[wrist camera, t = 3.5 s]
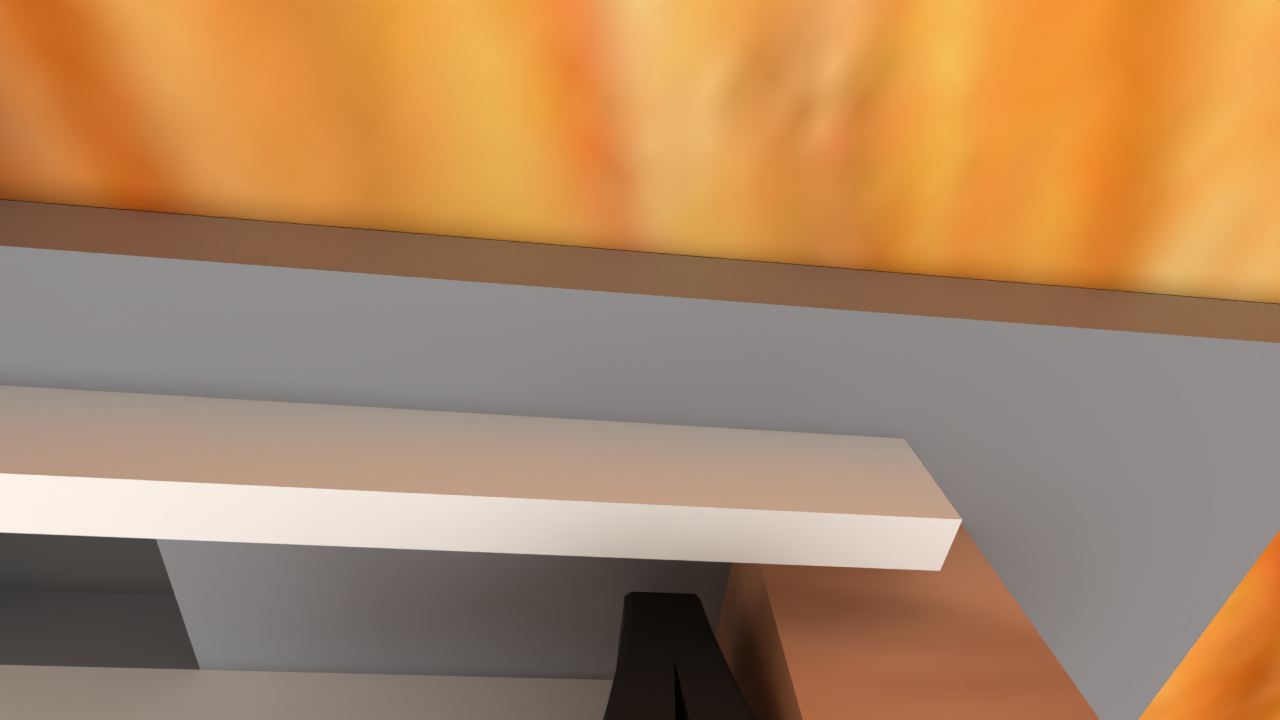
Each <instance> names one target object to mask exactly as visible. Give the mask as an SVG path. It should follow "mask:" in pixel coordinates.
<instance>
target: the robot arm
mask: <svg viewBox="0 0 1280 720" xmlns="http://www.w3.org/2000/svg"><path fill="white" fill-rule="evenodd" d="M603 720H756V719H755V717H754V715H753V713H752V712H751V710H750V708H749V706H748V704H747V702H746V700H745V698H744V696H743V694H742V692H741V690H740V689H739V687H738V685H737V683H736V681H735V679H734V677H733V675H732V672H731V670H730V668H729V666H728V664H727V662H726V660H725V658H724V655H723V653H722V651H721V649H720V647H719V645H718V642H717V640H716V638H715V635H714V633H713V631H712V628H711V626H710V623H709V621H708V618H707V616H706V613H705V611H704V608H703V605H702V602H701V600H700V598H699V597H698V596H697V595H696V594H689V593H660V592H630V593H628V594H627V595H625V596H624V604H623V613H622V621H621V630H620V638H619V647H618V655H617V664H616V672H615V676H614V680H613V684H612V688H611V692H610V696H609V700H608V703H607V707H606V711H605V714H604V718H603Z"/></svg>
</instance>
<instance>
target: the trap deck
mask: <svg viewBox="0 0 1280 720" xmlns="http://www.w3.org/2000/svg"><path fill="white" fill-rule="evenodd" d="M0 385H6V386H23V387H40V388H57V389H73V390H90V391H107V392H124V393H141V394H158V395H175V396H192V397H209V398H226V399H243V400H260V401H277V402H294V403H311V404H328V405H345V406H362V407H379V408H396V409H413V410H430V411H447V412H463V413H480V414H497V415H514V416H531V417H548V418H565V419H582V420H599V421H616V422H633V423H650V424H667V425H684V426H701V427H718V428H735V429H752V430H769V431H786V432H803V433H820V434H837V435H854V436H870V437H887V438H904V439H905V440H906V442H907V443H908V444H909V446H910V447H911V449H912V450H913V451H914V453H915V454H916V456H917V457H918V458H919V460H920V461H921V462H922V464H923V465H924V467H925V468H926V469H927V471H928V472H929V474H930V475H931V476H932V478H933V479H934V481H935V482H936V483H937V485H938V486H939V488H940V489H941V490H942V492H943V493H944V495H945V496H946V497H947V499H948V500H949V502H950V503H951V504H952V506H953V507H954V509H955V510H956V511H957V513H958V514H959V516H960V517H961V518H962V522H961V524H962V525H963V527H964V528H965V530H966V531H967V532H968V534H969V535H970V537H971V538H972V539H973V541H974V542H975V544H976V545H977V547H978V548H979V549H980V551H981V552H982V554H983V555H984V556H985V558H986V559H987V561H988V562H989V564H990V565H991V566H992V568H993V569H994V571H995V572H996V573H997V575H998V576H999V578H1000V579H1001V581H1002V582H1003V583H1004V585H1005V586H1006V588H1007V589H1008V590H1009V592H1010V593H1011V595H1012V596H1013V598H1014V599H1015V600H1016V602H1017V603H1018V605H1019V606H1020V607H1021V609H1022V610H1023V612H1024V613H1025V615H1026V616H1027V617H1028V619H1029V620H1030V622H1031V623H1032V624H1033V626H1034V627H1035V629H1036V630H1037V632H1038V633H1039V634H1040V636H1041V637H1042V639H1043V640H1044V641H1045V643H1046V644H1047V646H1048V647H1049V649H1050V650H1051V651H1052V653H1053V654H1054V656H1055V657H1056V658H1057V660H1058V661H1059V663H1060V664H1061V665H1062V667H1063V668H1064V670H1065V671H1066V673H1067V674H1068V675H1069V677H1070V678H1071V680H1072V681H1073V682H1074V684H1075V685H1076V687H1077V688H1078V690H1079V691H1080V692H1081V694H1082V695H1083V697H1084V698H1085V699H1086V701H1087V702H1088V704H1089V705H1090V707H1091V708H1092V709H1093V711H1094V712H1095V714H1096V715H1097V716H1098V718H1099V719H1100V720H1138V719H1139V718H1140V716H1141V715H1142V714H1143V712H1144V711H1145V710H1146V708H1147V707H1148V706H1149V704H1150V703H1151V702H1152V700H1153V699H1154V698H1155V696H1156V695H1157V694H1158V692H1159V691H1160V690H1161V688H1162V687H1163V686H1164V684H1165V683H1166V682H1167V680H1168V679H1169V678H1170V676H1171V675H1172V674H1173V672H1174V671H1175V670H1176V668H1177V667H1178V665H1179V664H1180V663H1181V661H1182V660H1183V659H1184V657H1185V656H1186V655H1187V653H1188V652H1189V651H1190V649H1191V648H1192V647H1193V645H1194V644H1195V643H1196V641H1197V640H1198V639H1199V637H1200V636H1201V635H1202V633H1203V632H1204V631H1205V629H1206V628H1207V627H1208V625H1209V624H1210V623H1211V621H1212V620H1213V619H1214V617H1215V616H1216V614H1217V613H1218V612H1219V610H1220V609H1221V608H1222V606H1223V605H1224V604H1225V602H1226V601H1227V600H1228V598H1229V597H1230V596H1231V594H1232V593H1233V592H1234V590H1235V589H1236V588H1237V586H1238V585H1239V584H1240V582H1241V581H1242V580H1243V578H1244V577H1245V576H1246V574H1247V573H1248V572H1249V570H1250V569H1251V568H1252V566H1253V565H1254V564H1255V562H1256V561H1257V559H1258V558H1259V557H1260V555H1261V554H1262V553H1263V551H1264V550H1265V549H1266V547H1267V546H1268V545H1269V543H1270V542H1271V541H1272V539H1273V538H1274V537H1275V535H1276V534H1277V533H1278V531H1279V530H1280V304H1270V303H1258V302H1246V301H1233V300H1221V299H1209V298H1197V297H1184V296H1172V295H1160V294H1148V293H1135V292H1123V291H1111V290H1099V289H1087V288H1074V287H1062V286H1050V285H1038V284H1025V283H1013V282H1001V281H989V280H976V279H964V278H952V277H940V276H928V275H915V274H903V273H891V272H879V271H866V270H854V269H842V268H830V267H817V266H805V265H793V264H781V263H769V262H756V261H744V260H732V259H720V258H707V257H695V256H683V255H671V254H659V253H646V252H634V251H622V250H610V249H597V248H585V247H573V246H561V245H548V244H536V243H524V242H512V241H500V240H487V239H475V238H463V237H451V236H438V235H426V234H414V233H402V232H390V231H377V230H365V229H353V228H341V227H328V226H316V225H304V224H292V223H279V222H267V221H255V220H243V219H231V218H218V217H206V216H194V215H182V214H169V213H157V212H145V211H133V210H120V209H108V208H96V207H84V206H72V205H59V204H47V203H35V202H23V201H10V200H0ZM731 565H732V562H712V561H687V560H663V559H638V558H614V557H589V556H565V555H541V554H516V553H492V552H467V551H443V550H418V549H394V548H369V547H345V546H320V545H296V544H271V543H247V542H223V541H198V540H174V539H149V538H125V537H100V536H76V535H51V534H27V533H2V532H0V665H29V666H69V667H110V668H151V669H191V670H232V671H272V672H313V673H354V674H394V675H435V676H476V677H516V678H557V679H598V680H614V676H615V672H616V664H617V655H618V647H619V638H620V630H621V621H622V613H623V604H624V596H625V595H627V594H628V593H630V592H660V593H689V594H696V595H697V596H698V597H699V598H700V600H701V602H702V605H703V608H704V611H705V613H706V616H707V618H708V621H709V623H710V626H711V628H712V631H713V633H714V635H715V638H716V633H717V629H718V624H719V619H720V615H721V610H722V606H723V601H724V597H725V592H726V587H727V583H728V578H729V574H730V569H731Z"/></svg>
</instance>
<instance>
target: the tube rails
mask: <svg viewBox="0 0 1280 720" xmlns="http://www.w3.org/2000/svg"><path fill="white" fill-rule="evenodd" d="M961 522H962V518H961V517H960V516H959V514H958V513H957V511H956V510H955V509H954V507H953V506H952V504H951V503H950V502H949V500H948V499H947V497H946V496H945V495H944V493H943V492H942V490H941V489H940V488H939V486H938V485H937V483H936V482H935V481H934V479H933V478H932V476H931V475H930V474H929V472H928V471H927V469H926V468H925V467H924V465H923V464H922V462H921V461H920V460H919V458H918V457H917V456H916V454H915V453H914V451H913V450H912V449H911V447H910V446H909V444H908V443H907V442H906V440H905V439H904V438H887V437H870V436H854V435H837V434H820V433H803V432H786V431H769V430H752V429H735V428H718V427H701V426H684V425H667V424H650V423H633V422H616V421H599V420H582V419H565V418H548V417H531V416H514V415H497V414H480V413H463V412H447V411H430V410H413V409H396V408H379V407H362V406H345V405H328V404H311V403H294V402H277V401H260V400H243V399H226V398H209V397H192V396H175V395H158V394H141V393H124V392H107V391H90V390H73V389H57V388H40V387H23V386H6V385H0V532H2V533H27V534H51V535H76V536H100V537H125V538H149V539H174V540H198V541H223V542H247V543H271V544H296V545H320V546H345V547H369V548H394V549H418V550H443V551H467V552H492V553H516V554H541V555H565V556H589V557H614V558H638V559H663V560H687V561H712V562H736V563H761V564H785V565H810V566H834V567H859V568H883V569H908V570H932V571H940V570H941V567H942V565H943V563H944V561H945V558H946V556H947V554H948V551H949V549H950V547H951V544H952V542H953V540H954V538H955V535H956V533H957V531H958V528H959V526H960V524H961ZM612 684H613V680H598V679H557V678H516V677H476V676H435V675H394V674H354V673H313V672H272V671H232V670H191V669H151V668H110V667H69V666H29V665H0V720H603V718H604V714H605V711H606V707H607V703H608V700H609V696H610V692H611V688H612Z"/></svg>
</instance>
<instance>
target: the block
mask: <svg viewBox="0 0 1280 720" xmlns="http://www.w3.org/2000/svg"><path fill="white" fill-rule="evenodd" d="M716 640H717V642H718V645H719V647H720V649H721V651H722V653H723V655H724V658H725V660H726V662H727V664H728V666H729V668H730V670H731V672H732V675H733V677H734V679H735V681H736V683H737V685H738V687H739V689H740V690H741V692H742V694H743V696H744V698H745V700H746V702H747V704H748V706H749V708H750V710H751V712H752V713H753V715H754V717H755V719H756V720H1100V719H1099V718H1098V716H1097V715H1096V714H1095V712H1094V711H1093V709H1092V708H1091V707H1090V705H1089V704H1088V702H1087V701H1086V699H1085V698H1084V697H1083V695H1082V694H1081V692H1080V691H1079V690H1078V688H1077V687H1076V685H1075V684H1074V682H1073V681H1072V680H1071V678H1070V677H1069V675H1068V674H1067V673H1066V671H1065V670H1064V668H1063V667H1062V665H1061V664H1060V663H1059V661H1058V660H1057V658H1056V657H1055V656H1054V654H1053V653H1052V651H1051V650H1050V649H1049V647H1048V646H1047V644H1046V643H1045V641H1044V640H1043V639H1042V637H1041V636H1040V634H1039V633H1038V632H1037V630H1036V629H1035V627H1034V626H1033V624H1032V623H1031V622H1030V620H1029V619H1028V617H1027V616H1026V615H1025V613H1024V612H1023V610H1022V609H1021V607H1020V606H1019V605H1018V603H1017V602H1016V600H1015V599H1014V598H1013V596H1012V595H1011V593H1010V592H1009V590H1008V589H1007V588H1006V586H1005V585H1004V583H1003V582H1002V581H1001V579H1000V578H999V576H998V575H997V573H996V572H995V571H994V569H993V568H992V566H991V565H990V564H989V562H988V561H987V559H986V558H985V556H984V555H983V554H982V552H981V551H980V549H979V548H978V547H977V545H976V544H975V542H974V541H973V539H972V538H971V537H970V535H969V534H968V532H967V531H966V530H965V528H964V527H963V525H962V524H960V526H959V528H958V531H957V533H956V535H955V538H954V540H953V542H952V544H951V547H950V549H949V551H948V554H947V556H946V558H945V561H944V563H943V565H942V567H941V570H940V571H932V570H908V569H883V568H859V567H834V566H810V565H785V564H761V563H736V562H732V565H731V569H730V574H729V578H728V583H727V587H726V592H725V597H724V601H723V606H722V610H721V615H720V619H719V624H718V629H717V633H716Z"/></svg>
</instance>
